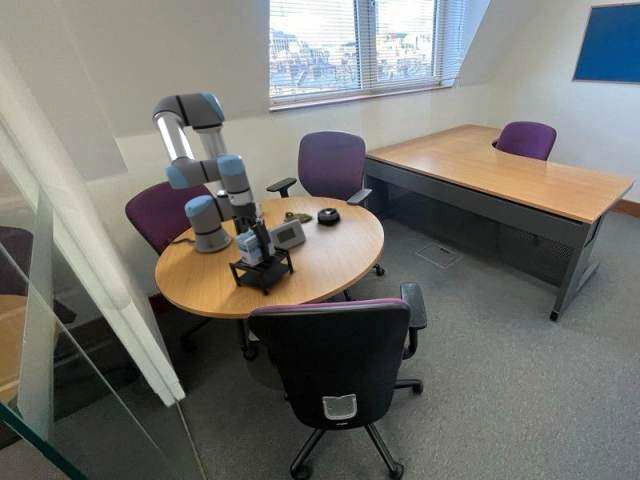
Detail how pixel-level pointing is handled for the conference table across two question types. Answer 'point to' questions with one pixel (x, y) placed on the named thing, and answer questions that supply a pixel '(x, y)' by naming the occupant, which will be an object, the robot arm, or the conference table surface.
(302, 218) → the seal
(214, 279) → the conference table surface
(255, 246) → the light bulb box
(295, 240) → the digital clock
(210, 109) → the robot arm
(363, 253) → the conference table surface
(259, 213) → the mineral specimen
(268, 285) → the rack
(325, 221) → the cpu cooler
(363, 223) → the conference table surface
